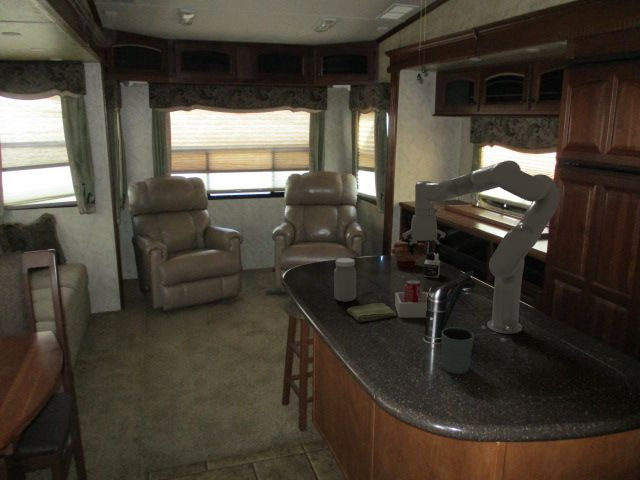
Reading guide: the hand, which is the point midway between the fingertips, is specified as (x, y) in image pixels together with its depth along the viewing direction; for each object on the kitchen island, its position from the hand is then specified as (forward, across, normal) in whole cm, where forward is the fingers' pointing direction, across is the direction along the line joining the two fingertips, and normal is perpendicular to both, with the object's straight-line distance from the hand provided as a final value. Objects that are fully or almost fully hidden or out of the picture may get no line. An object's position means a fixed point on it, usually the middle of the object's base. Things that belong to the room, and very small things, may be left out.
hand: (423, 253), depth 217 cm
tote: (+25, +4, 0) cm, 25 cm away
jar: (+24, +32, -16) cm, 43 cm away
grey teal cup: (+25, -1, +52) cm, 57 cm away
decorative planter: (+24, -5, -69) cm, 74 cm away
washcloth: (+25, +22, +3) cm, 33 cm away
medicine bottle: (+25, -14, -50) cm, 58 cm away
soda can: (+24, +4, 0) cm, 24 cm away
